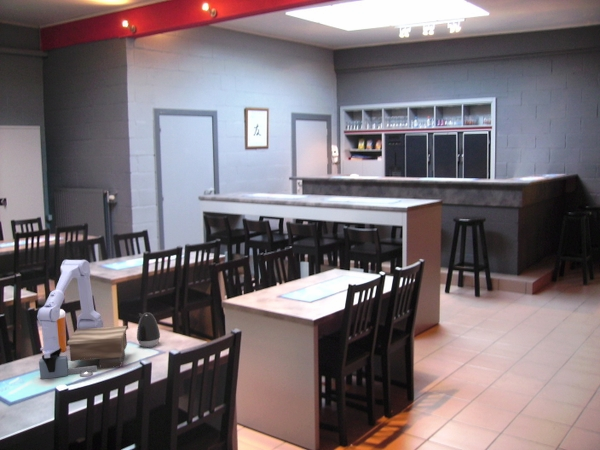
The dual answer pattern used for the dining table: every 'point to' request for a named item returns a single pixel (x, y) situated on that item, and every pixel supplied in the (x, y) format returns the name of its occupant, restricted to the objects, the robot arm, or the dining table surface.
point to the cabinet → (99, 345)
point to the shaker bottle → (62, 330)
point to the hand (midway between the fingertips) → (53, 369)
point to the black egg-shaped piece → (147, 330)
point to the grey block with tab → (60, 368)
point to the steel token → (85, 373)
